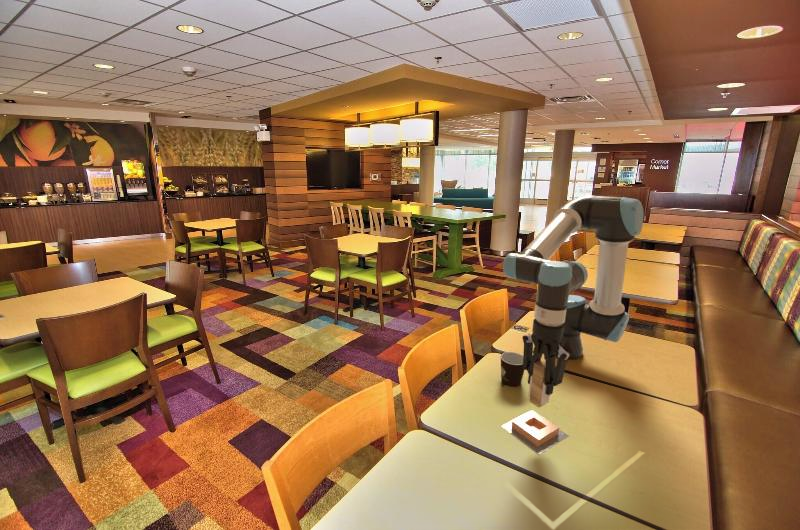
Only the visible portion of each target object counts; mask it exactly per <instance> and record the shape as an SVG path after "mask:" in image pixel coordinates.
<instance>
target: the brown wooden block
mask: <svg viewBox="0 0 800 530" xmlns="http://www.w3.org/2000/svg"><path fill="white" fill-rule="evenodd" d="M544 382H546V362H545V360H543V359H541V360H540V361H537V362H535V363H534V368H533V376H532V383H531V391H530V397H529V399H528V400H529V403H530V404H533V405H534V406H535V407H537V408H542V407H543V406H545V405H546V404H544V405H541V404H540V401H541V394H542V387H543V383H544Z"/></svg>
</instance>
